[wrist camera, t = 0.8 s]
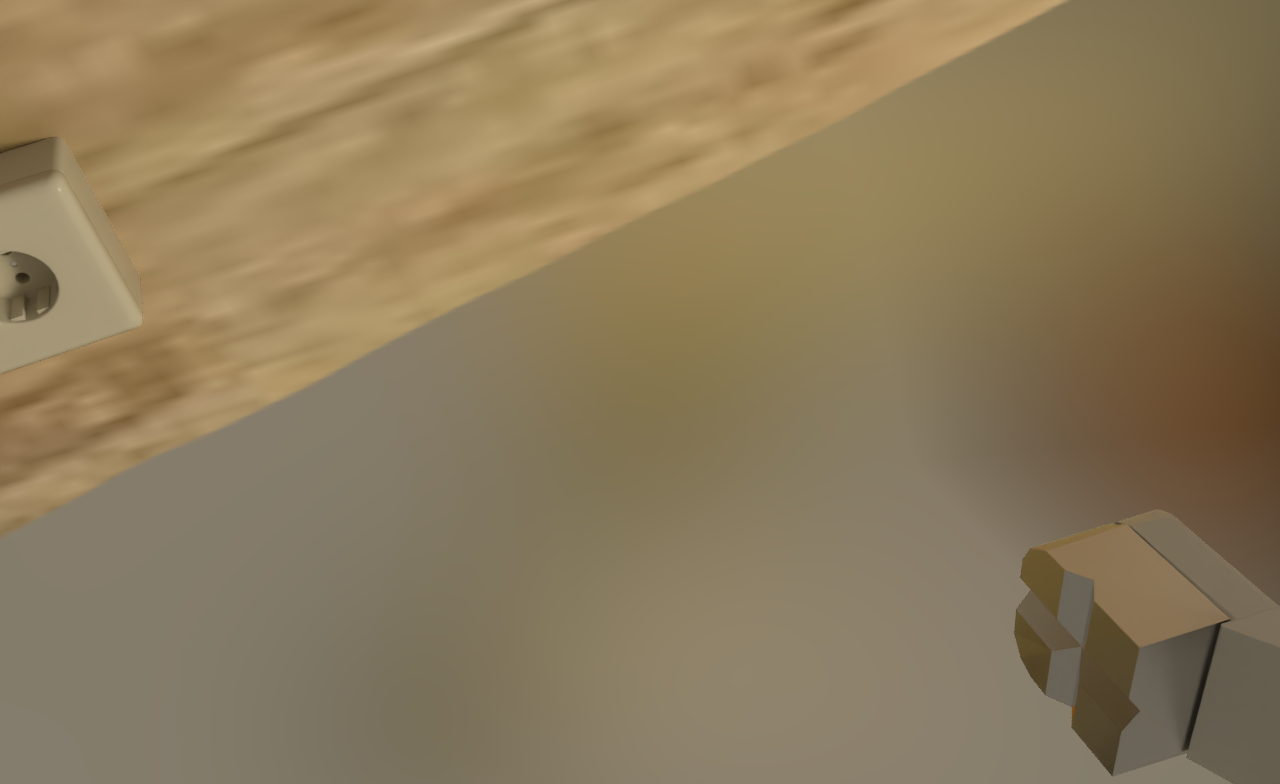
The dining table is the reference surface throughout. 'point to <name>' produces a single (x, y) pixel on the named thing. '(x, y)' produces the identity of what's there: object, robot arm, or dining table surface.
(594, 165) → the dining table surface
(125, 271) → the electrical outlet
